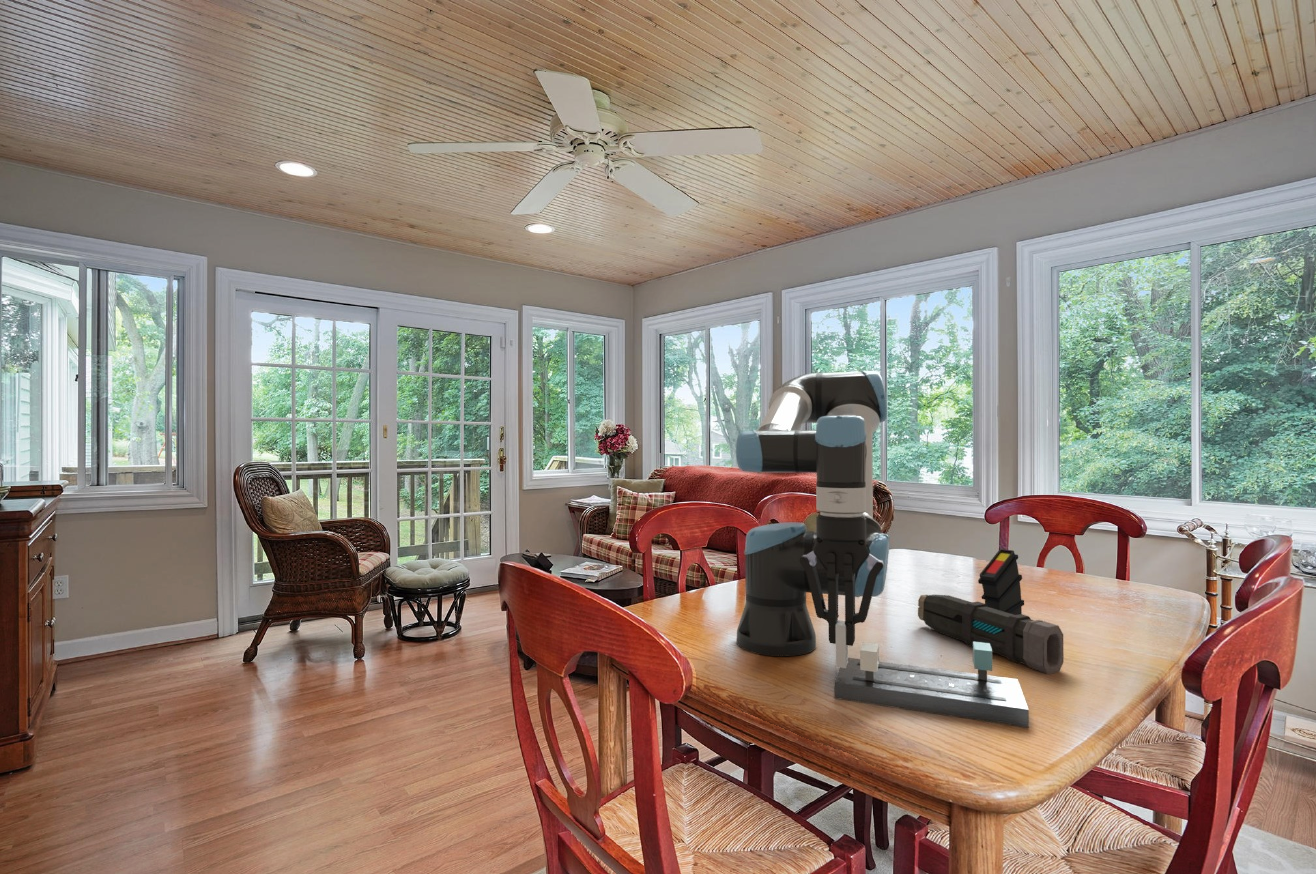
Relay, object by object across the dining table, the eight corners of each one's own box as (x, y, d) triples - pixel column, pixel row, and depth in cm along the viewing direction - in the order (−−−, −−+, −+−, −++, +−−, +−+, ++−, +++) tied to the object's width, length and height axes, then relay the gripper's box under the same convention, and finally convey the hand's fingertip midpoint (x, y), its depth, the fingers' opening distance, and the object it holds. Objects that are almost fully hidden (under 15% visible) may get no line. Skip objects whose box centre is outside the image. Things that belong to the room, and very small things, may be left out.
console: (834, 698, 97) (834, 681, 97) (844, 671, 108) (843, 656, 108) (1028, 727, 87) (1028, 709, 87) (1017, 695, 98) (1017, 678, 98)
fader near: (860, 683, 96) (860, 650, 96) (862, 674, 99) (862, 642, 100) (876, 685, 95) (876, 652, 95) (878, 676, 99) (878, 644, 99)
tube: (941, 637, 135) (1077, 666, 108) (918, 649, 133) (1051, 681, 105) (927, 588, 136) (1058, 604, 108) (903, 599, 133) (1032, 618, 105)
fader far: (974, 682, 96) (974, 649, 96) (972, 673, 100) (972, 641, 100) (992, 684, 95) (992, 651, 95) (990, 675, 99) (989, 643, 99)
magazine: (1030, 606, 142) (1016, 550, 138) (1005, 642, 135) (990, 583, 131) (1012, 603, 145) (999, 547, 141) (988, 638, 138) (972, 580, 134)
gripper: (794, 514, 98) (795, 666, 98) (882, 518, 93) (884, 679, 92) (803, 509, 105) (804, 652, 105) (886, 513, 100) (887, 663, 99)
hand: (841, 664), depth 99 cm, fingers closed
